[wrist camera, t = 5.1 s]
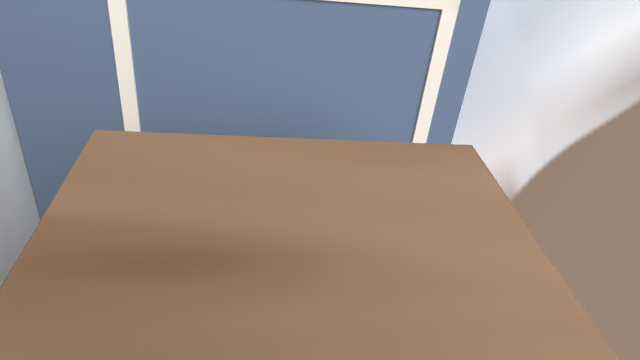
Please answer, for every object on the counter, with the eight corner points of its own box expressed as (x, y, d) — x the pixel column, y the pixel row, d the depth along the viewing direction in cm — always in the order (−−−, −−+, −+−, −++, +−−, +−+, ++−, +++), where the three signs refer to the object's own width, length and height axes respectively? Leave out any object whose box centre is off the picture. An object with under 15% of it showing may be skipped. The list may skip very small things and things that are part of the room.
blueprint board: (402, 295, 19) (406, 309, 18) (69, 294, 18) (63, 310, 17) (585, -396, 9) (606, -412, 9) (-140, -533, 8) (-173, -564, 7)
